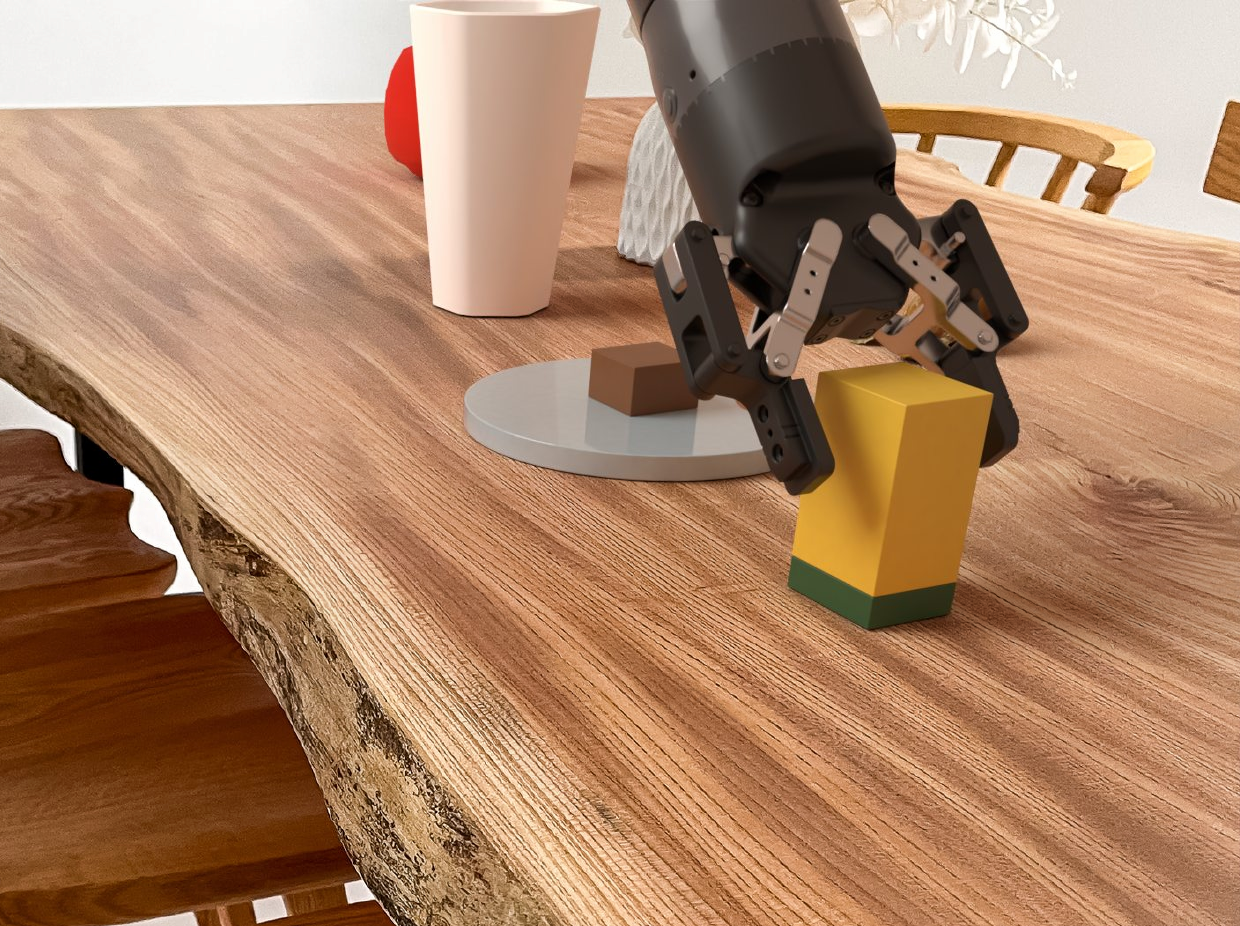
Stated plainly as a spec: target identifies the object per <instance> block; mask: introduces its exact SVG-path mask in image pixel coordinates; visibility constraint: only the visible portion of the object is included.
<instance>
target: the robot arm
mask: <svg viewBox="0 0 1240 926" xmlns="http://www.w3.org/2000/svg"><path fill="white" fill-rule="evenodd" d="M626 4H627V6H628V10H629V12H630V14H631V17H632V19H633V22H634V25H635V27H636V31H637V33H638V36H639V38H640V40H641V43H642V46H643V50H644V52H645V57H646V61H647V66H648V71H649V77H650V81H651V85H652V89H653V93H654V96H655V99H656V102H657V105H658V108H659V110H660V113H661V115H662V119H663V121H664V124H665V127H666V130H667V132H668V135H669V137H670V140H671V143H672V146H673V148H674V150H675V153H676V156H677V159H678V162H679V165H680V167H681V170H682V172H683V175H684V177H685V181H686V183H687V186H688V189H689V191H690V193H691V196H692V199H693V202H694V204H695V207H696V210H697V212H698V215H699V218H700V220H697V219H696V220H695V219H694V220H690V221H687V222H686V223H685V224H684V225H683V227H682V228H681V229H680V231H679V232H678V233H677V234H676V236H675V237H674V238H673V240H672V241H671V242H670V244H669V245H668V246H667V248H666V249H665V250H664V252H663V253H662V254H661V255H660V256H659V258H658V259H657V260H656V262H655V263H654V264H653V267H652V273H653V276H654V280H655V283H656V287H657V290H658V293H659V296H660V299H661V303H662V306H663V310H664V313H665V316H666V319H667V323H668V326H669V329H670V332H671V335H672V339H673V342H674V346H675V349H677V352H678V356H679V359H680V362H681V366H682V369H683V372H684V375H685V379H686V382H687V385H688V388H689V390H690V392H691V393H692V395H693V396H694V397H696V398H697V399H700V400H703V401H708V400H711V399H712V398H714V396H715V395H719V396H723V397H728V398H732V399H735V401H736V403H737V404H738V405H739V406H740V407H741V408H743V409H744V410H747V411H748V412H749V414H750V417H751V420H752V422H753V425H754V428H755V430H756V433H757V436H758V438H759V441H760V444H761V446H762V449H763V452H764V455H765V456H766V460H767V463H768V466H769V468H770V473H771V474H772V475H773V476H774V478H775V479H776V480H777V481H778V482H779V483H783V485H784V487H785V490H786V492H787V493H788V494H789V495H790V496H791V497H796V496H801V495H804V494H810V493H812V492H813V491H814V490H816V489H817V488H818V487H819V486H820V485H821V484H822V483H824V482H825V481H826V480H827V479H828V478H829V477H830V476H831V475H832V474H833V472H834V469H835V459H834V456H833V453H832V451H831V448H830V445H829V443H828V440H827V437H826V435H825V432H824V430H823V427H822V424H821V422H820V419H819V416H818V414H817V411H816V408H815V406H814V403H813V400H812V398H811V397H812V395H811V393H810V390H809V388H808V385H807V382H806V379H805V378H804V377H801V378H793V377H792V375H793V374H794V373H795V372H796V369H797V366H798V362H799V359H800V355H801V353H802V349H803V347H807V346H816V345H822V344H824V343H826V342H828V341H831V340H833V339H835V338H839V339H844V340H849V341H850V340H859V339H868V338H871V337H873V338H874V339H875V340H876V341H877V342H878V343H879V344H880V345H881V346H883V347H884V348H885V349H886V350H887V351H889V353H891V354H893V355H896V356H897V355H903V354H908V355H910V356H912V357H913V358H914V359H915V360H914V359H913V360H914V361H916V362H917V363H919V365H921V366H922V367H923V369H925V370H928V371H931V372H934V373H937V374H939V375H942V376H945V377H948V378H951V379H953V380H956V381H959V382H962V383H965V384H968V385H970V386H973V387H976V388H979V389H982V390H984V391H987V392H990V393H993V400H992V405H991V411H990V416H989V421H988V426H987V431H986V436H985V441H984V446H983V451H982V456H981V461H980V466H979V469H985V468H991V467H993V466H994V465H996V464H997V463H998V462H999V461H1001V460H1002V459H1004V458H1005V457H1006V456H1007V455H1009V454H1010V453H1011V452H1012V451H1014V450H1015V449H1016V448H1017V446H1018V443H1019V438H1020V437H1019V436H1020V435H1019V434H1020V433H1021V429H1020V419H1019V417H1018V414H1017V412H1016V409H1015V407H1014V404H1013V402H1012V399H1011V398H1010V394H1009V391H1008V389H1007V387H1006V384H1005V381H1004V378H1003V376H1002V374H1001V372H1000V369H999V367H998V366H999V365H998V363H997V356H998V354H1000V353H1002V351H1004V349H1005V348H1007V347H1008V346H1009V345H1010V344H1011V343H1013V342H1014V341H1015V340H1017V339H1018V338H1019V337H1020V336H1022V334H1024V333H1025V332H1026V331H1027V330H1028V329H1029V327H1030V319H1029V317H1028V314H1027V313H1026V310H1025V308H1024V306H1023V303H1022V302H1021V300H1020V297H1019V295H1018V292H1017V291H1016V288H1015V286H1014V284H1013V282H1012V280H1011V277H1010V276H1009V273H1008V271H1007V269H1006V267H1005V265H1004V262H1003V261H1002V258H1001V256H1000V254H999V252H998V250H997V248H996V246H995V244H994V241H993V239H992V237H991V235H990V232H989V230H988V228H987V226H986V224H985V222H984V220H983V217H982V215H981V214H980V211H979V208H978V207H977V206H976V205H975V204H974V203H973V202H972V201H970V200H969V199H966V198H958V199H956V200H955V202H953V203H952V204H951V205H950V206H949V207H948V209H947V210H945V211H943V213H942V214H939V215H932V216H926V217H920V218H917V217H916V216H915V215H914V214H913V213H912V212H911V211H910V209H909V208H908V207H906V206H907V205H906V204H904V203H903V202H902V199H900V197H899V195H898V194H897V191H896V185H895V182H896V164H897V144H896V141H895V138H894V136H893V134H892V130H891V129H890V125H889V123H888V120H887V118H886V116H885V113H884V110H883V108H882V106H881V104H880V100H879V98H878V96H877V94H876V91H875V89H874V86H873V84H872V81H871V79H870V76H869V73H868V71H867V68H866V65H865V63H864V61H863V57H862V55H861V53H860V52H859V48H858V46H857V43H856V42H855V39H854V35H853V34H852V31H851V29H850V26H849V24H848V21H847V18H846V16H845V13H844V11H843V8H842V6H841V4H840V1H839V0H626ZM729 283H730V284H731V285H732V286H733V287H734V288H735V289H736V290H737V291H739V292H740V293H741V294H742V295H743V296H744V297H746V299H748V300H749V301H750V302H751V303H752V304H753V305H754V309H753V310H754V311H753V313H752V316H751V320H750V323H749V326H748V329H747V332H746V335H745V334H744V331H743V326H742V324H741V321H740V317H739V315H738V310H737V308H736V305H735V302H734V298H733V295H732V293H731V289H730V286H729ZM910 289H911V290H912V291H913V292H914V293H915V294H916V295H917V294H918V295H919V296H920V297H921V299H922V300H923V304H922V305H921V306H920V307H919V308H918V309H917V310H915V311H914V312H913V313H912V314H911V315H909V316H903V315H901V314H898V313H899V312H900V311H901V310H902V309H903V307H904V305H905V304H906V302H907V300H908V297H909V294H910ZM982 297H983V299H984V301H985V303H986V306H987V308H988V310H989V312H990V314H991V318H990V319H988V320H987V321H984V319H983V317H982V315H981V313H980V310H979V308H978V303H979V300H980V299H981V298H982ZM933 326H939V327H941V328H942V329H943V330H945V331H946V332H947V333H948V334H949V335H950V336H952V337H953V338H954V339H955V340H956V341H955V343H954V344H953V345H952V346H949V344H948V345H947V344H945V343H944V342H943V341H942V340H941V339H940V338H938V337H937V336H936V335H935V334H934V333H933V332H931V331H930V328H931V327H933ZM803 345H804V346H803Z"/></svg>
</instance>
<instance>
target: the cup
mask: <svg viewBox="0 0 1240 926" xmlns="http://www.w3.org/2000/svg"><path fill="white" fill-rule="evenodd" d="M601 11H602V9H601V7H600V6H599V5H596V4H589V3H581V2H573V1H565V0H432V1H425V2H418V3H417V2H416V3H411V4H410V5H409V18H410V30H411V32H410V33H411V43H412V44H411V46H412V45H413V58H414V70H415V83H416V95H417V108H418V120H419V133H420V145H421V158H422V171H423V179H422V181H423V193H424V194H423V195H424V203H425V204H424V207H425V208H424V209H425V219H426V230H427V231H426V233H427V245H428V246H427V247H428V257H429V270H430V281H431V294H432V295H431V296H432V304H433V306H436V307H439V308H441V309H444V310H446V311H449V312H452V313H453V314H457V315H462V316H463V315H464V316H470V317H521V316H527V315H531V314H533V313H536V312H537V311H540V310H542V309H544V308H546V307H548V306H549V303H550V299H551V293H552V286H553V280H554V276H555V270H556V264H557V258H558V254H559V248H560V241H561V236H562V230H563V225H564V219H565V213H566V209H567V203H568V197H569V191H570V185H571V180H572V174H573V168H574V163H575V157H576V151H577V147H578V146H577V145H578V139H579V135H580V129H581V125H582V124H581V123H582V118H583V112H584V106H585V101H586V94H587V90H588V83H589V79H590V72H591V67H592V62H593V56H594V51H595V45H596V38H597V33H598V29H599V28H598V27H599V23H600V17H601Z"/></svg>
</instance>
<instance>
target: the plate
mask: <svg viewBox="0 0 1240 926" xmlns="http://www.w3.org/2000/svg"><path fill="white" fill-rule="evenodd" d="M590 367H591V357H581V358H580V357H579V358H566V359H557V360H556V359H555V360H548V361H547V360H546V361H541V362H534V363H529V364H524V365H523V364H522V365H519V366H513V367H510V368H505V369H503V370H500V371H497V372H493V373H491V374H488V375H486V376H484V377H482V378H481V379H479V380H476V382H474V383H473V384H472V385H470V386H469V387H468V389H466V391H465V393H464V397H463V404H462V405H463V407H462V408H463V409H462V422H463V427H464V429H465V430H466V432H467V433H468V435H469V436H470V437H471V438H473V439H474V440H475V442H477V443H479V444H480V445H482V446H483V447H485V448H487V449H489V450H490V451H493V452H496V453H498V454H499V455H502V456H505V457H508V458H511V459H513V460H516V461H519V462H522V463H526V464H530V465H533V466H537V467H542V468H546V469H551V470H555V471H559V472H565V473H571V474H576V475H583V476H589V477H597V478H607V479H616V480H627V481H628V480H629V481H646V482H648V481H649V482H694V481H712V480H727V479H734V478H740V477H741V478H742V477H748V476H754V475H759V474H765V473H771V471H770V468H769V466H768V463H767V460H766V456H765V455H764V452H763V449H762V446H761V444H760V441H759V438H758V436H757V433H756V430H755V428H754V425H753V422H752V420H751V417H750V414H749V412H748V411H747V410H744V409H743V408H741V407H740V406H739V405H738V404H737V403H736V401H735V399H732V398H728V397H723V396H719V395H715V396H714V398H712V399H711V400H708V401H703V400H700V399H699V401H698V408H693V409H685V410H677V411H670V412H662V413H654V414H647V415H639V416H632V417H630V416H628V415H626V414H624V413H622V412H620V411H618V410H616V409H614V408H611V407H609V406H607V405H605V404H603V403H601V402H599V401H597V400H595V399H593V398H590V397H589V396H588V392H589V379H590ZM811 398H812V400H813V403H814V401H815V397H813V396H811Z"/></svg>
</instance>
